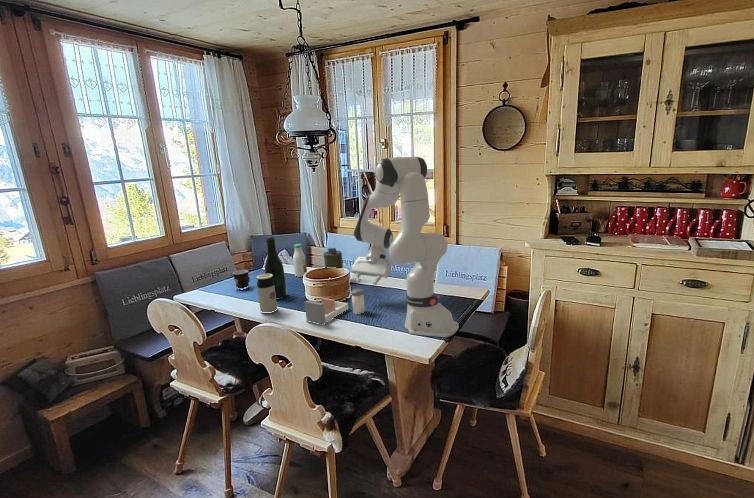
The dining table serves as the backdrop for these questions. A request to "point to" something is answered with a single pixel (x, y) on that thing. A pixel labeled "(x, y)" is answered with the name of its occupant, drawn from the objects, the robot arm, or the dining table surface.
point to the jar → (358, 301)
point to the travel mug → (266, 293)
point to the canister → (333, 258)
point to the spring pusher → (328, 305)
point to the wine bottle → (275, 268)
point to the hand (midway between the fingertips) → (365, 283)
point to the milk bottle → (299, 261)
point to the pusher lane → (337, 310)
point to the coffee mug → (241, 278)
